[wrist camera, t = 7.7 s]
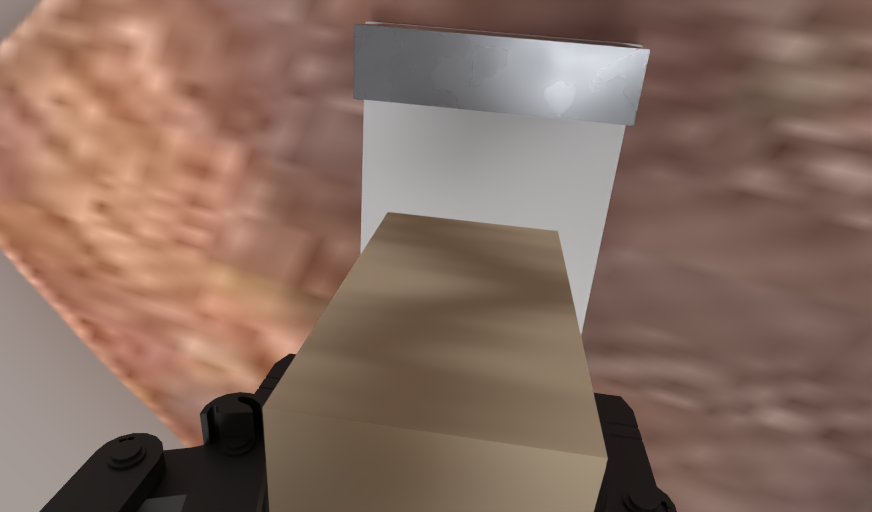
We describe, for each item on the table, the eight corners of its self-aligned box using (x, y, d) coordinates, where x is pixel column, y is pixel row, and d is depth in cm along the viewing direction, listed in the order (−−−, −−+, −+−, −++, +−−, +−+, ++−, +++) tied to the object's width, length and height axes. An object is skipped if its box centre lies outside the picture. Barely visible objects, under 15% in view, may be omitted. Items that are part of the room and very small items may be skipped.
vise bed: (636, 44, 29) (676, 51, 22) (546, 477, 41) (553, 569, 34) (372, 21, 30) (331, 22, 23) (361, 448, 42) (331, 533, 35)
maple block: (557, 231, 16) (608, 458, 8) (524, 422, 19) (534, 738, 10) (387, 211, 16) (262, 407, 8) (379, 402, 19) (281, 690, 11)
